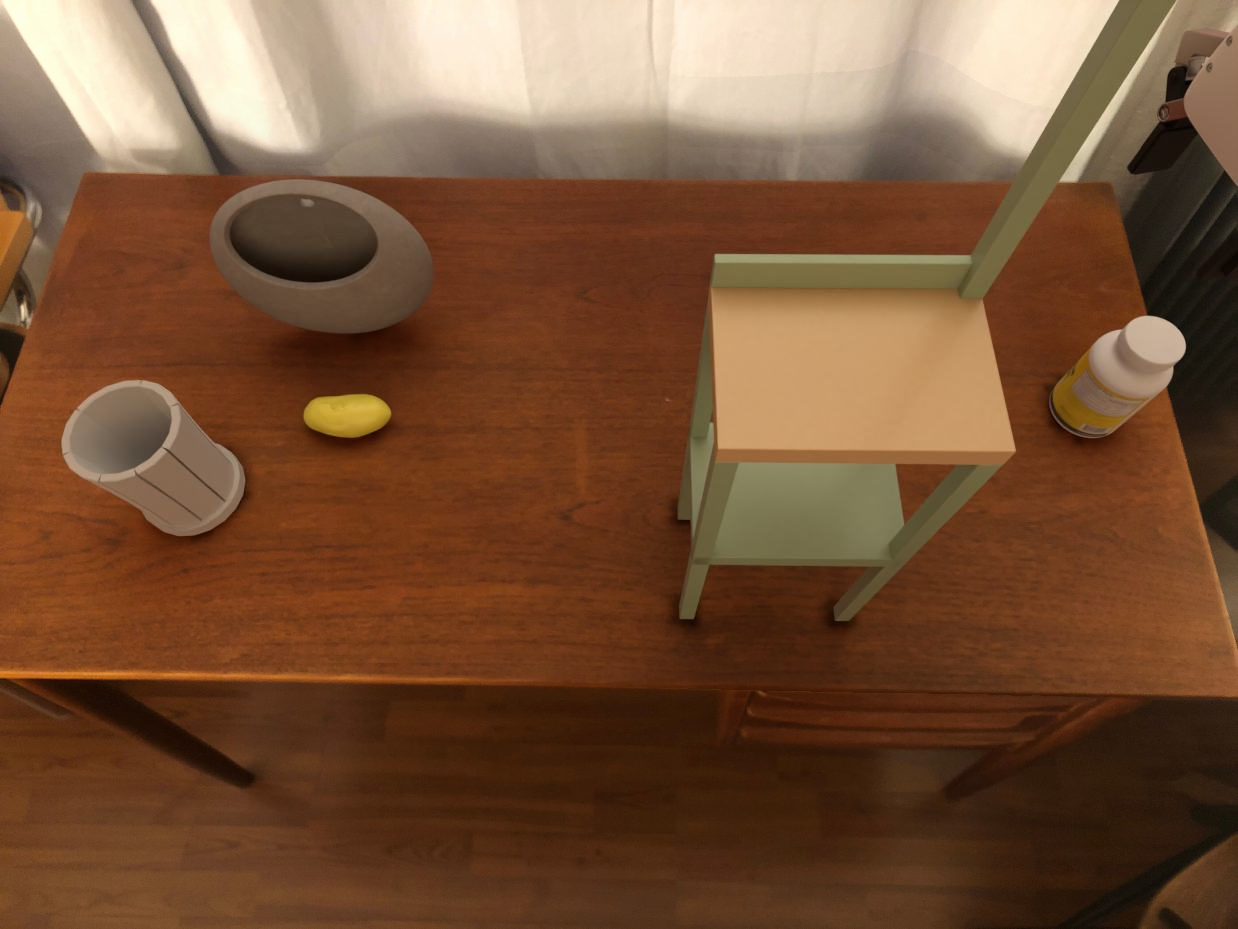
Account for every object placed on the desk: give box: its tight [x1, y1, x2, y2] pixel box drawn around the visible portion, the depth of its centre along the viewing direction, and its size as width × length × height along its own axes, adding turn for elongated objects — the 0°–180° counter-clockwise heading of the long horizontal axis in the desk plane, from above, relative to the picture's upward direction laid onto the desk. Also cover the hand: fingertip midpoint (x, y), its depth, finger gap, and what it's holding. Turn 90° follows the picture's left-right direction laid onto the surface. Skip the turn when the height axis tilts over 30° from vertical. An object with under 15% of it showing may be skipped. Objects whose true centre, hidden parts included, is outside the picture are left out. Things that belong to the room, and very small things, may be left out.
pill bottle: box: [1048, 315, 1187, 439], centre depth 69 cm, size 6×6×12 cm
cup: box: [60, 379, 246, 537], centre depth 66 cm, size 10×9×12 cm
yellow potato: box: [302, 393, 392, 439], centre depth 72 cm, size 4×8×4 cm, turn 87°
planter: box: [209, 178, 435, 334], centre depth 71 cm, size 18×7×19 cm, turn 94°
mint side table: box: [677, 0, 1177, 622], centre depth 43 cm, size 10×14×55 cm
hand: (1180, 219), depth 55 cm, fingers open, 9 cm apart
